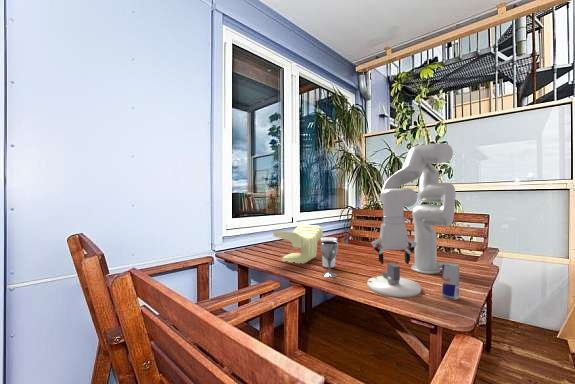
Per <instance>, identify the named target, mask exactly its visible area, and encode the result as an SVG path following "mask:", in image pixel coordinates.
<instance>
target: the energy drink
mask: <svg viewBox="0 0 575 384" xmlns="http://www.w3.org/2000/svg"><path fill="white" fill-rule="evenodd" d="M442 263H443V265H442V267H441V295H442V297H443V298H444V299H446V300H450V301H451V300H452V301H457V300H459V299H460V266H459V264H458V263H454V262H442Z"/></svg>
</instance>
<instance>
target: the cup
mask: <svg viewBox="0 0 575 384" xmlns="http://www.w3.org/2000/svg"><path fill="white" fill-rule="evenodd" d="M337 240H338V239H337V238H336V237H330V236H329V237H328V236H327V237H323V238H320V243H321V242H322V241H335V242H338V241H337ZM336 256H337V255H336ZM336 256H335V257H334V259H333V260H332V261H331V265H330V268H335V267H336ZM321 260H322V267H324V268H329V267H328V262H327V260H326V259H325V258H324V256H323V255H322V254H321Z"/></svg>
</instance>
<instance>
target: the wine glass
mask: <svg viewBox="0 0 575 384" xmlns="http://www.w3.org/2000/svg"><path fill="white" fill-rule="evenodd" d="M338 250H339V242H338V241H337V242H335V241H322V242H321V241H320V252H321V256H322V255H323V256H324V258H325V259H326V260H327V262H328V267H327V268H328V272H323V273H321V276H322V277H325V278H336V277H338V274H337V273H335V272H331V267H330V265H331V261H332V260H333V259H334V257H335V256H337V254H338Z"/></svg>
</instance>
